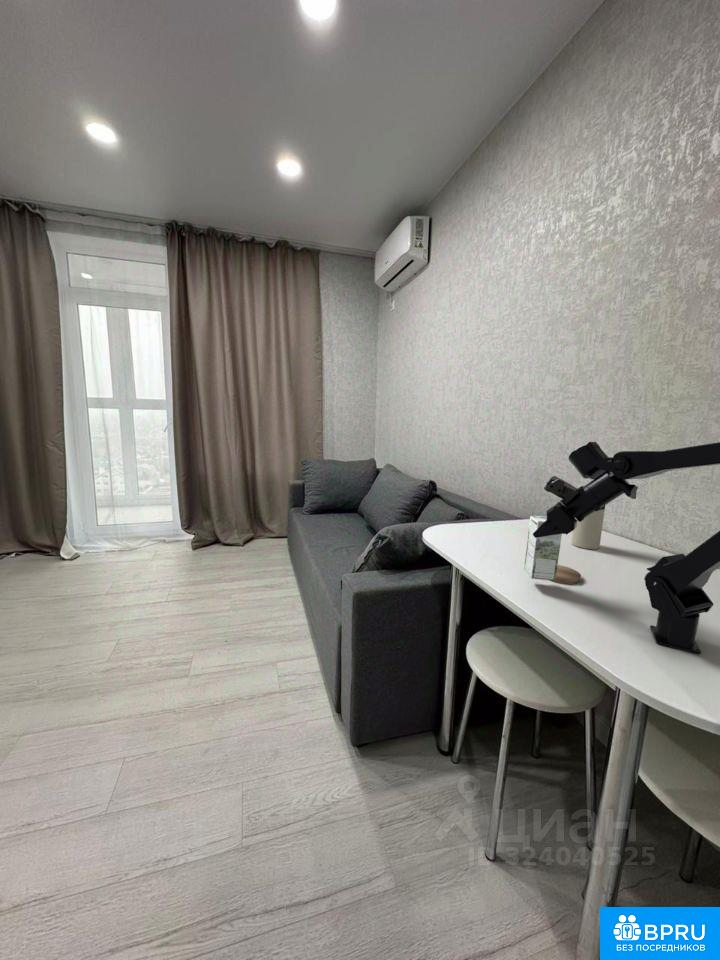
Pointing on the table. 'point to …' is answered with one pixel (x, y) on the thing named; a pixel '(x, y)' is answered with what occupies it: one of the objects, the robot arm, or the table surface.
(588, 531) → the travel mug
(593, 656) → the table surface
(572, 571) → the walnut stand
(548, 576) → the syrup box
